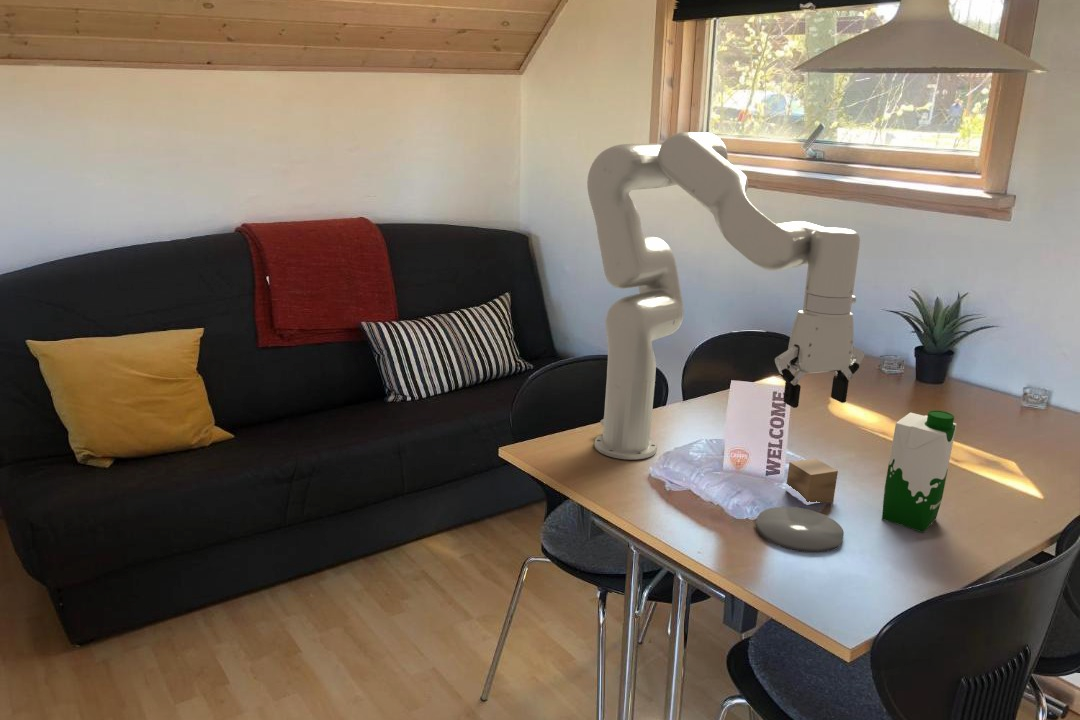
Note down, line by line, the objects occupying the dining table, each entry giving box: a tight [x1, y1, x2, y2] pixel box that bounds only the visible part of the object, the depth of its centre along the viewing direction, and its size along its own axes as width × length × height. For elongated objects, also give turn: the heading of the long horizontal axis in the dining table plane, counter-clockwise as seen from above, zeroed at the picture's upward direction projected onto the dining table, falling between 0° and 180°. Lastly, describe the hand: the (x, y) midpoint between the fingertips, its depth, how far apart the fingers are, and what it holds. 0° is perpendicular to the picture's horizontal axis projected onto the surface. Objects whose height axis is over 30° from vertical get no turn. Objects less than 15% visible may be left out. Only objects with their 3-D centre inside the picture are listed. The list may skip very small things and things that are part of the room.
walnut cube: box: [786, 457, 839, 504], centre depth 162 cm, size 6×6×6 cm
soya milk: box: [881, 410, 958, 533], centre depth 153 cm, size 9×9×20 cm
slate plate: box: [755, 506, 845, 554], centre depth 149 cm, size 14×14×1 cm
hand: (814, 402), depth 152 cm, fingers open, 9 cm apart
